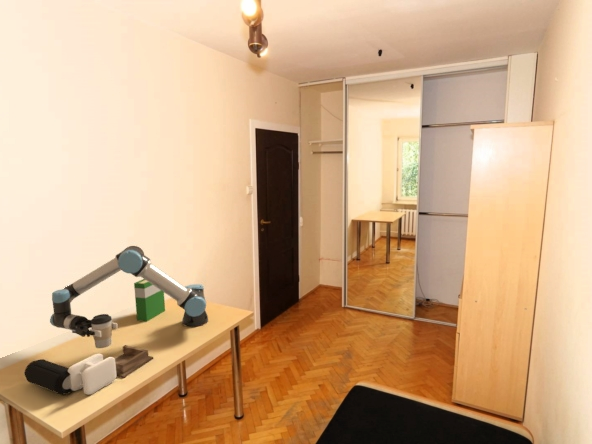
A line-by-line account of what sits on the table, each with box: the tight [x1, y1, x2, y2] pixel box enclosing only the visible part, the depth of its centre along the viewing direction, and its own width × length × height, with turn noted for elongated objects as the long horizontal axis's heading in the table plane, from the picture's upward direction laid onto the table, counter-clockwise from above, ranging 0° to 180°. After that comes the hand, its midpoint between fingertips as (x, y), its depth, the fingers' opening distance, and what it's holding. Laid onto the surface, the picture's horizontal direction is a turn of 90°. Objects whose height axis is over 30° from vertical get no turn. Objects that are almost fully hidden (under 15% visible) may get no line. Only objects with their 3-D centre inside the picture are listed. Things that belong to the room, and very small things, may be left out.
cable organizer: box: [68, 353, 118, 396], centre depth 157 cm, size 15×11×12 cm
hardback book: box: [133, 278, 166, 322], centre depth 233 cm, size 18×7×24 cm, turn 163°
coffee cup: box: [90, 313, 113, 349], centre depth 178 cm, size 9×9×15 cm
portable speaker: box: [23, 358, 74, 395], centre depth 157 cm, size 26×10×10 cm, turn 65°
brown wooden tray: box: [103, 344, 154, 379], centre depth 175 cm, size 16×18×5 cm
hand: (109, 330), depth 176 cm, fingers closed on coffee cup, 9 cm apart
